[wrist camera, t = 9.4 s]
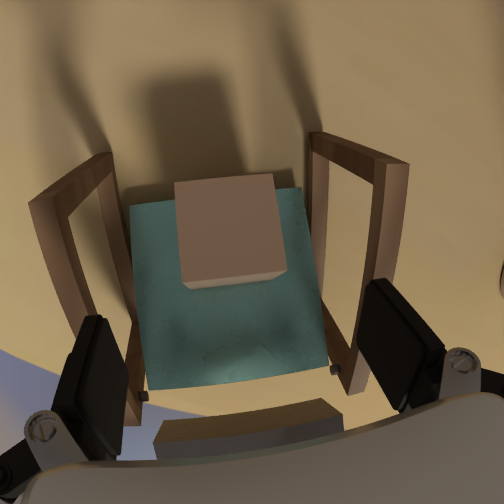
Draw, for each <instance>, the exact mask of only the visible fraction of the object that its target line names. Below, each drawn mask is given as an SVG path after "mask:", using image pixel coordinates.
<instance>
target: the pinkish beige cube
mask: <svg viewBox="0 0 504 504" xmlns="http://www.w3.org/2000/svg"><path fill="white" fill-rule="evenodd" d="M174 190H175V206H176V220H177V233H178V245H179V256H180V267H181V277H182V283H183V284H184V285H186V286H187V287H188V288H189V289H191V290H194V289H203V288H212V287H220V286H229V285H237V284H246V283H254V282H262V281H270V280H272V279H274V278H276V277H277V276H279V275H281V274H282V273H284V272H286V271H287V263H286V256H285V249H284V243H283V236H282V230H281V223H280V217H279V210H278V204H277V198H276V192H275V185H274V179H273V173H270V174H256V175H243V176H232V177H221V178H210V179H201V180H191V181H183V182H174Z"/></svg>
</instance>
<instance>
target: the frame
mask: <svg viewBox="0 0 504 504" xmlns="http://www.w3.org/2000/svg"><path fill="white" fill-rule="evenodd" d="M329 160H330V161H332V162H334V163H336V164H337V165H339V166H341V167H343V168H345V169H347V170H348V171H350V172H352V173H354V174H355V175H357V176H359V177H361V178H362V179H364V180H366V181H368V182H369V183H371V184H373V195H372V207H371V217H370V227H369V236H368V244H367V252H366V260H365V267H364V274H363V281H362V287H361V294H360V300H359V306H358V311H357V317H356V323H355V328H354V333H353V338H352V343H351V348H349V346H348V344H347V342H346V341H345V339H344V337H343V335H342V333H341V332H340V330H339V328H338V326H337V325H336V323H335V321H334V320H333V318H332V316H331V314H330V313H329V311H328V309H327V307H326V306H325V304H324V302H323V301H322V289H323V277H324V263H325V248H326V231H327V211H328V185H329ZM409 165H410V164H409V163H406V162H404V161H401V160H399V159H397V158H394V157H392V156H389V155H387V154H384V153H382V152H379V151H376V150H374V149H371V148H368V147H366V146H363V145H360V144H358V143H355V142H352V141H349V140H346V139H344V138H341V137H338V136H335V135H332V134H329V133H326V132H309V197H308V226H309V232H310V237H311V243H312V249H313V255H314V261H315V267H316V274H317V280H318V287H319V293H320V300H321V307H322V314H323V322H324V329H325V337H326V345H327V353H328V356H329V358H330V360H331V362H332V365H331V366H330V373H331V375H336V374H337V375H338V377H339V379H340V381H341V383H342V385H343V388H344V390H345V392H346V394H347V396H349V395H353V394H357V393H360V392H364V390H365V387H366V384H367V381H368V377H369V374H370V371H371V369H370V367H369V366H368V364H367V362H366V360H365V359H364V357H363V355H362V354H361V352H360V350H359V348H358V347H357V344H356V336H357V331H358V326H359V321H360V315H361V310H362V304H363V299H364V293H365V287H366V285H367V284H369V282H370V281H371V280H373V279H379V278H386V279H388V280H389V282H390V283H391V284H392V283H393V278H394V273H395V268H396V262H397V257H398V251H399V245H400V239H401V232H402V226H403V219H404V211H405V204H406V195H407V186H408V176H409ZM96 187H97V188H98V193H99V198H100V203H101V208H102V213H103V217H104V222H105V226H106V231H107V235H108V239H109V243H110V247H111V251H112V255H113V259H114V263H115V267H116V270H117V274H118V278H119V281H120V285H121V288H122V292H123V295H124V298H125V302H126V305H127V308H128V311H129V315H130V318H131V321H132V326H131V332H130V337H129V342H128V348H127V353H126V359H125V365H126V367H127V370H128V373H129V383H128V391H127V399H126V407H125V416H124V425H123V426H141V417H142V403H143V402H145V401H149V395H148V392H147V391H144V380H145V366H144V359H143V353H142V346H141V339H140V332H139V324H138V316H137V307H136V298H135V288H134V277H133V265H132V255H131V251H130V247H129V242H128V237H127V233H126V228H125V223H124V218H123V213H122V208H121V203H120V197H119V192H118V186H117V180H116V174H115V168H114V162H113V155H112V152H108V153H102V154H97V155H94V156H93V157H91V158H90V159H88V160H87V161H85V162H84V163H82V164H81V165H79V166H78V167H76V168H75V169H73V170H72V171H70V172H69V173H68V174H66V175H65V176H63V177H62V178H60V179H59V180H58V181H56V182H55V183H54V184H52V185H51V186H49V187H48V188H47V189H45V190H44V191H43V192H41V193H40V194H39V195H37V196H36V197H35V198H34V199H32V200H31V201H30V202H28V205H29V209H30V213H31V216H32V220H33V224H34V227H35V231H36V234H37V237H38V241H39V244H40V247H41V250H42V253H43V257H44V260H45V263H46V265H47V268H48V271H49V274H50V277H51V280H52V282H53V285H54V288H55V290H56V293H57V295H58V298H59V301H60V303H61V306H62V308H63V310H64V313H65V315H66V318H67V320H68V322H69V325H70V327H71V329H72V331H73V334H74V336H75V338H76V339H77V336H78V333H79V330H80V328H81V325H82V322H83V320H84V317H85V316H87V315H98V314H97V311H96V308H95V305H94V303H93V300H92V297H91V294H90V291H89V288H88V285H87V282H86V279H85V276H84V273H83V270H82V267H81V263H80V260H79V257H78V253H77V250H76V246H75V243H74V239H73V236H72V232H71V228H70V224H69V220H68V216H69V215H70V214H71V213H72V212H73V211H74V210H75V209H76V208H77V207H78V205H79V204H80V203H81V202H82V201H83V200H84V199H85V198H86V197H87V196H88V195H89V194H90V193H91V192H92V191H93V190H94V189H95V188H96Z"/></svg>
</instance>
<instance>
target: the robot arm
mask: <svg viewBox="0 0 504 504" xmlns="http://www.w3.org/2000/svg"><path fill="white" fill-rule="evenodd" d="M501 294H502V297H503V298H504V269H503V273H502V277H501ZM356 344H357V347H358V348H359V350H360V352H361V354H362V355H363V357H364V359H365V360H366V362H367V364H368V366H369V367H370V369H371V371H372V373H373V374H374V376H375V378H376V379H377V381H378V383H379V385H380V386H381V388H382V390H383V392H384V393H385V395H386V397H387V399H388V401H389V402H390V404H391V406H392V408H393V409H394V410H398V412H399V413H400V414H397V415H394V416H391V417H389V418H386V419H383V420H380V421H376V422H373V423H370V424H367V425H364V426H360V427H357V428H354V429H350V430H347V431H343V432H339V433H335V434H332V435H328V436H324V437H320V438H316V439H311V440H307V441H302V442H298V443H293V444H288V445H283V446H278V447H273V448H267V449H261V450H255V451H248V452H241V453H234V454H226V455H218V456H208V457H197V458H184V459H165V460H138V461H137V460H135V461H116V457H117V455H120V454H121V446H122V436H123V425H124V416H125V407H126V399H127V391H128V383H129V373H128V370H127V367H126V365H125V362H124V360H123V358H122V355H121V353H120V350H119V348H118V345H117V343H116V340H115V338H114V335H113V333H112V330H111V327H110V325H109V322H108V320H107V318H103V317H102V316H101V315H100V314H99V315H87V316H85V317H84V320H83V322H82V325H81V328H80V330H79V333H78V336H77V339H76V341H75V344H74V347H73V350H72V353H70V354H69V355H68V357H67V359H66V362H65V365H64V368H63V371H62V374H61V378H60V381H59V384H58V388H57V390H56V394H55V397H54V400H53V404H52V408H51V411H50V410H42V411H38V412H36V413H34V414H33V415H32V416H30V417H29V419H28V420H27V421H26V424H25V427H24V435H25V439H24V440H22V441H21V442H19V443H18V444H16V445H15V446H14V447H12V448H11V449H9V450H8V451H6V452H5V453H3V454H2V455H1V456H0V504H504V374H501V373H497V372H494V371H490V370H487V369H483V368H481V363H480V360H479V358H478V356H477V355H476V354H475V353H473V352H472V351H470V350H468V349H465V348H460V347H457V348H452V349H450V350H449V351H448V352H447V350H446V349H445V348H444V347H445V345H444V344H443V343H442V341H441V340H440V339H439V338H438V337H437V335H436V334H435V333H434V332H433V331H432V329H431V328H430V327H429V326H428V325H427V323H426V322H425V321H424V320H423V319H422V318H421V316H420V315H419V314H418V313H417V312H416V311H415V310H414V308H413V307H412V306H411V305H410V304H409V303H408V302H407V300H406V299H405V298H404V297H403V296H402V295H401V294H400V293H399V291H398V290H397V289H396V288H395V287H394V286H393V285H392V284H391V283H390V282H389V280H388V279H386V278H379V279H373V280H371V281H370V282H369V284H367V285H366V287H365V293H364V299H363V304H362V310H361V315H360V321H359V326H358V331H357V336H356Z"/></svg>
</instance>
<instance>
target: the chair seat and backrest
mask: <svg viewBox="0 0 504 504" xmlns="http://www.w3.org/2000/svg"><path fill="white" fill-rule="evenodd" d="M275 192H276V198H277V204H278V210H279V217H280V223H281V230H282V236H283V243H284V249H285V256H286V263H287V271H286V272H284V273H282V274H281V275H279V276H277V277H276V278H274V279H272V280H270V281H262V282H254V283H246V284H237V285H229V286H220V287H212V288H203V289H194V290H191V289H189V288H188V287H187V286H186V285H184V284H183V283H182V277H181V267H180V256H179V245H178V233H177V220H176V206H175V200H167V201H159V202H152V203H145V204H137V205H130V206H129V209H130V233H131V251H132V265H133V277H134V288H135V298H136V307H137V316H138V324H139V332H140V339H141V346H142V353H143V359H144V366H145V372H146V378H147V383H148V389H149V390H164V389H177V388H188V387H198V386H208V385H216V384H224V383H232V382H239V381H246V380H253V379H260V378H266V377H272V376H278V375H283V374H289V373H294V372H300V371H305V370H310V369H315V368H319V367H324V366H329V361H328V353H327V345H326V337H325V329H324V322H323V314H322V307H321V300H320V293H319V287H318V280H317V274H316V267H315V261H314V255H313V249H312V243H311V237H310V232H309V226H308V220H307V215H306V209H305V204H304V199H303V193H302V188H301V187H297V188H284V189H275ZM343 431H344V426H343V414H342V413H340V412H339V411H338V410H336V409H335V408H334V407H332V406H331V405H330V404H329V403H327V402H326V401H325V400H323V399H322V398H318V399H314V400H309V401H305V402H300V403H295V404H290V405H285V406H279V407H274V408H268V409H262V410H256V411H249V412H242V413H235V414H227V415H219V416H210V417H201V418H191V419H177V420H164V421H163V423H162V425H161V427H160V429H159V431H158V433H157V435H156V437H155V439H154V441H153V445H154V449H155V453H156V457H157V460H165V459H184V458H197V457H208V456H218V455H226V454H234V453H241V452H248V451H255V450H261V449H267V448H273V447H278V446H283V445H288V444H293V443H298V442H302V441H307V440H311V439H316V438H320V437H324V436H328V435H332V434H335V433H339V432H343Z"/></svg>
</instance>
